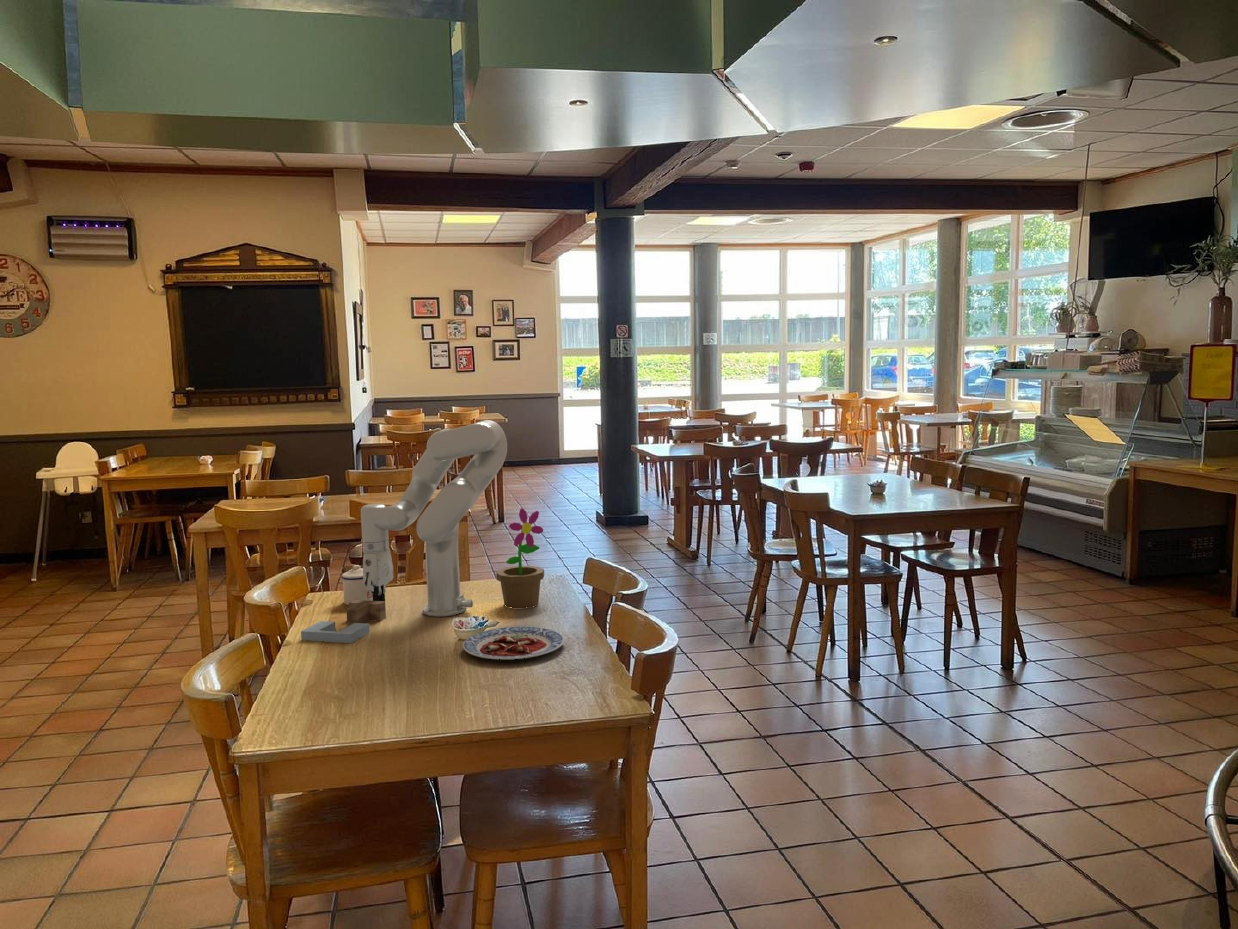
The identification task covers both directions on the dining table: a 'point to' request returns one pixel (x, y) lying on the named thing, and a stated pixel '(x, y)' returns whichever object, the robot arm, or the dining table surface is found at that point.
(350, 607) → the t block
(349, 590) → the teacup with lid
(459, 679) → the dining table surface
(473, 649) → the ceramic plate
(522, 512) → the flowerpot
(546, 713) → the dining table surface
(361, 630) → the dock
